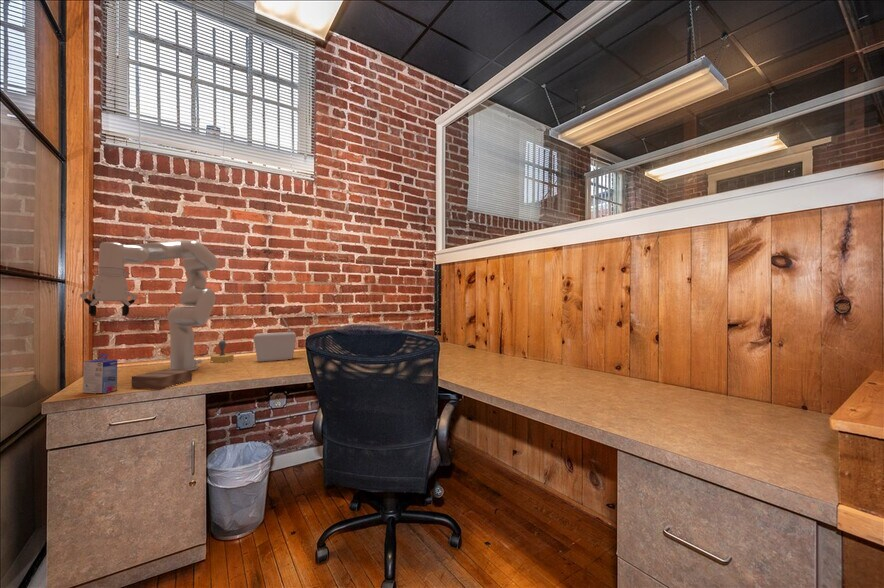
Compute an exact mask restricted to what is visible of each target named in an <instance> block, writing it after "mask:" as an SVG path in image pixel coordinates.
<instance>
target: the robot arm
mask: <svg viewBox="0 0 884 588" xmlns="http://www.w3.org/2000/svg"><path fill="white" fill-rule="evenodd" d="M98 254H99V255H98V272H97V275H95V276H94V278H93V282H92V287H91V290H88V291H86V292H83V293H80V294H79V297H80V298H81V300H82V301H83V303H85V304H86V305H87V306H88V314H89V315H90V317H96V315H97V306H96V304H97V303H98V302H120V303H122V309H121V316H123V317H124V316H125V317H127V316H128V315H129V314H130V307H131V305H132V304H134V303H135V301H136V300H137V299H138V295H137V294H135V293H133V292H130V291H128V282H127V278H126V276H128V275H129V271H125V264H129V265H130V264H142V263H145V262H159V261H169V260H176V259H177V260H178V259H182V265H183V267H184V270H185V272H186V275H187V279H186V282H185V284H184V287H183V289H182V291H181V293H180V296H179V303H180V304H181V305H183V306H177V307H174V308H172V309H170V310H169V311H168V313H167V322H168V325H169V331H170V332H169V333H170V336H169V337H170V340H169V344H170V345H169V346H170V347H169V349H170V353H169V355H170V360H169V361H170V365H169V366H170V367H168V368H167V369H169V370H192V371H195V370H197V369H199V366H198V364H202V362H203V360H202V359H201V358H200V359H195V333H194V331H193V328H192V327H201V326H203V325H205V324H206V323H207V321H208V319H209V318H210V315H211V313H212V311H213V308H214V306H215V303H216V293H215V292H214V291H215V290H213V289H212V288H208V287H206V286H207V278H206V276H205V274H204V273H203V272H208V271H209V272H210V271H211V272H212V271H214V270H216V269H217V268H218V266H219V260H218V258H217V257H216V255H215V254H214V253H213V252H212V251H210V250H209V249H208V247H206V246H205V245H203V244H202V243H201V242H199V241H197V240H174V241H172V240H171V241H170V240H169V241H159V242H158V241H157V242H150V243H149V242H147V243H142V244H139V243H138V244H122V243H120V242H114V241H102V242H101V243H100V244H99V252H98ZM88 296H90V298H88ZM128 296H129V297H131V299H129V300H128ZM90 299H91V300H90Z"/></svg>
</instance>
